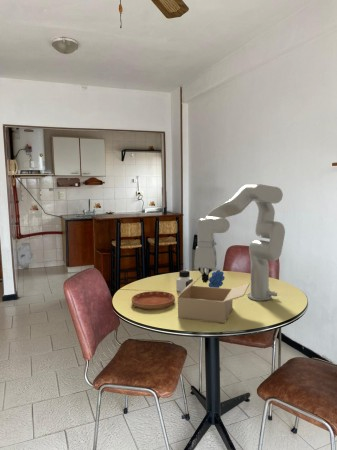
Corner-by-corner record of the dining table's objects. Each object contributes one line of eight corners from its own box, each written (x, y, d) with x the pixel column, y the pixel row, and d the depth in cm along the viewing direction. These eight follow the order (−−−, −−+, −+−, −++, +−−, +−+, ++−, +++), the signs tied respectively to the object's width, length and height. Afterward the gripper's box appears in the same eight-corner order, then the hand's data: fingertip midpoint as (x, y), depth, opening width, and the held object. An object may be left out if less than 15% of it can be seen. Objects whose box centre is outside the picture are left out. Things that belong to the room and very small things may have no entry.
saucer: (127, 300, 191) (126, 293, 190) (166, 294, 199) (166, 288, 198) (138, 314, 169) (138, 307, 169) (181, 307, 177) (181, 300, 177)
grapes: (219, 286, 211) (219, 267, 210) (226, 289, 206) (226, 269, 204) (204, 289, 205) (204, 270, 204) (211, 292, 200) (211, 272, 198)
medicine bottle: (186, 293, 200) (185, 272, 199) (176, 291, 204) (175, 271, 203) (193, 290, 206) (192, 270, 204) (183, 288, 210) (182, 268, 209)
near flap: (232, 288, 173) (232, 289, 173) (224, 301, 155) (225, 302, 155) (249, 283, 169) (249, 284, 169) (243, 294, 152) (243, 296, 152)
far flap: (178, 296, 163) (177, 295, 163) (189, 285, 180) (189, 284, 180) (191, 285, 160) (191, 284, 160) (202, 275, 177) (202, 274, 177)
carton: (232, 308, 174) (232, 289, 173) (224, 323, 156) (224, 302, 155) (190, 303, 182) (190, 285, 181) (178, 317, 163) (177, 297, 162)
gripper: (222, 243, 166) (222, 281, 168) (192, 242, 171) (192, 278, 173) (219, 246, 159) (218, 285, 161) (188, 244, 164) (188, 282, 166)
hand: (205, 281), depth 167 cm, fingers closed
